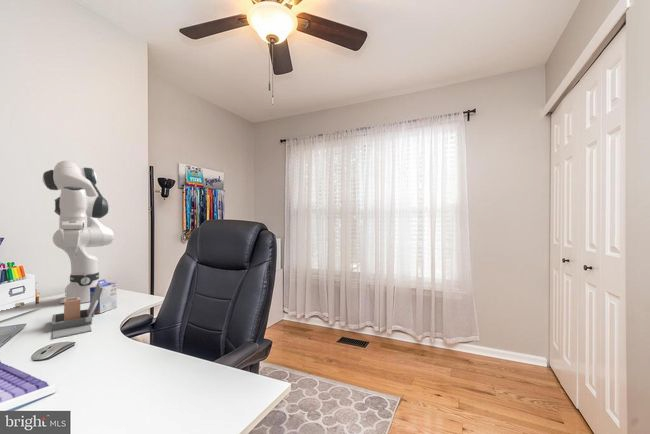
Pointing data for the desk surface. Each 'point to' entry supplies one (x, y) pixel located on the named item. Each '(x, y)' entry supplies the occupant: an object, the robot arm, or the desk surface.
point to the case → (83, 313)
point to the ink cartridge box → (105, 297)
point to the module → (71, 308)
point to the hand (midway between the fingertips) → (73, 257)
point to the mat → (71, 331)
